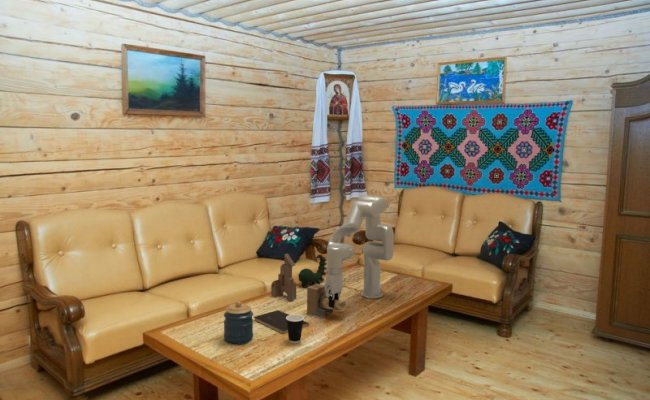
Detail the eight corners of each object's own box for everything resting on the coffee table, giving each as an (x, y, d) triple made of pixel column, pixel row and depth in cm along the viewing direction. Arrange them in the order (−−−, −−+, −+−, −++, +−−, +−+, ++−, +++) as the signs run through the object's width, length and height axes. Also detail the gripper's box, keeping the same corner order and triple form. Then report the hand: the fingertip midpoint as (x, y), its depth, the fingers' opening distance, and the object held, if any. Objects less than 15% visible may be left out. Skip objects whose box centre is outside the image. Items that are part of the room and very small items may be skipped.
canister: (255, 343, 220) (255, 305, 217) (225, 346, 216) (224, 307, 214) (250, 332, 232) (251, 295, 230) (222, 335, 228) (222, 297, 226)
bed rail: (346, 309, 251) (346, 299, 250) (341, 311, 247) (341, 301, 247) (325, 305, 258) (325, 295, 258) (320, 307, 254) (320, 297, 254)
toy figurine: (316, 281, 320) (291, 287, 300) (319, 252, 319) (293, 256, 299) (328, 284, 315) (303, 290, 295) (330, 254, 314) (305, 258, 294)
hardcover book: (282, 335, 231) (283, 330, 231) (253, 321, 247) (253, 316, 247) (308, 326, 242) (308, 322, 242) (279, 313, 258) (279, 309, 258)
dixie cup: (303, 344, 220) (304, 320, 218) (285, 345, 219) (285, 320, 218) (303, 337, 227) (303, 314, 226) (285, 337, 227) (286, 314, 225)
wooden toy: (270, 296, 285) (270, 253, 282) (278, 293, 290) (279, 251, 287) (290, 302, 275) (291, 257, 272) (298, 299, 281) (299, 255, 277)
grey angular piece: (316, 309, 265) (316, 283, 263) (333, 313, 258) (334, 287, 256) (306, 313, 258) (307, 287, 256) (323, 318, 251) (324, 291, 250)
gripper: (337, 266, 259) (336, 300, 261) (318, 272, 246) (318, 308, 248) (349, 268, 255) (348, 303, 257) (331, 275, 241) (330, 312, 243)
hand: (333, 305), depth 252 cm, fingers closed on bed rail, 3 cm apart
